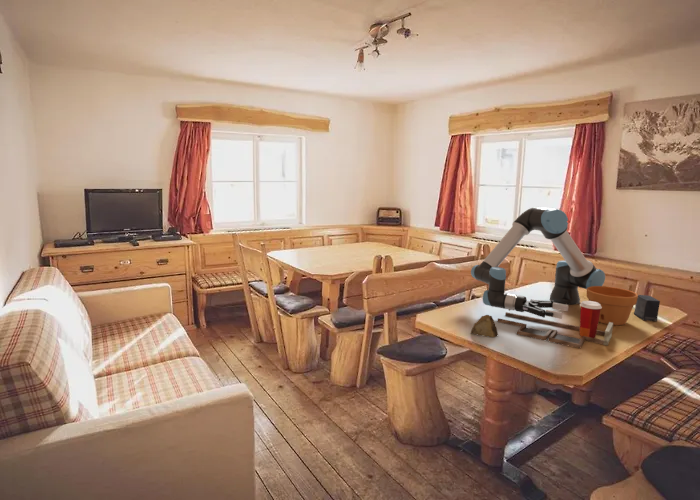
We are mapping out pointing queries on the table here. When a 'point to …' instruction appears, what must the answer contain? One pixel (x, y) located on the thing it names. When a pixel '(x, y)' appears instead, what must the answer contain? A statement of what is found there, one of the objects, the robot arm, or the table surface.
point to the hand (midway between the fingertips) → (565, 311)
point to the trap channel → (554, 336)
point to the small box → (647, 308)
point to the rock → (485, 327)
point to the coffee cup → (589, 318)
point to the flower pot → (613, 303)
